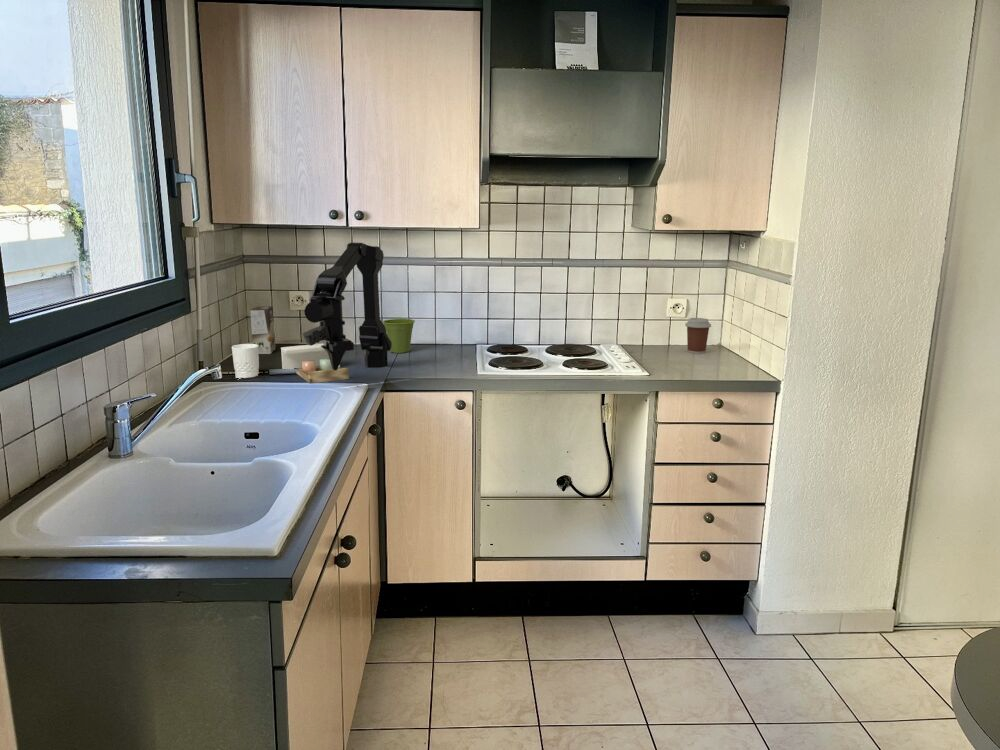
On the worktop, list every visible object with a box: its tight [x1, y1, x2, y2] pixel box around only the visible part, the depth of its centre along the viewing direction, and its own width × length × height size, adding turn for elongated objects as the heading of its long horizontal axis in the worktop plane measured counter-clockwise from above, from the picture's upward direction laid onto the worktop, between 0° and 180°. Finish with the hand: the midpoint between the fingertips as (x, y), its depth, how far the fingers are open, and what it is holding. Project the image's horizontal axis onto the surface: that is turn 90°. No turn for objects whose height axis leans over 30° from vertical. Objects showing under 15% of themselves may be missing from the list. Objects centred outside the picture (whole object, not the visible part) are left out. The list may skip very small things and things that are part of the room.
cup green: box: [319, 358, 333, 371], centre depth 238 cm, size 4×4×4 cm
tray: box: [295, 366, 350, 384], centre depth 233 cm, size 12×15×4 cm
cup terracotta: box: [301, 360, 316, 375], centre depth 235 cm, size 4×4×4 cm
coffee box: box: [249, 305, 276, 355], centre depth 271 cm, size 9×6×16 cm
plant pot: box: [381, 318, 416, 354], centre depth 273 cm, size 12×12×11 cm
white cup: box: [231, 343, 260, 380], centre depth 233 cm, size 8×8×10 cm
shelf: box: [280, 343, 341, 370], centre depth 242 cm, size 17×6×8 cm, turn 120°
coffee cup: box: [684, 317, 712, 354], centre depth 274 cm, size 9×9×12 cm
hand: (335, 369), depth 221 cm, fingers closed
